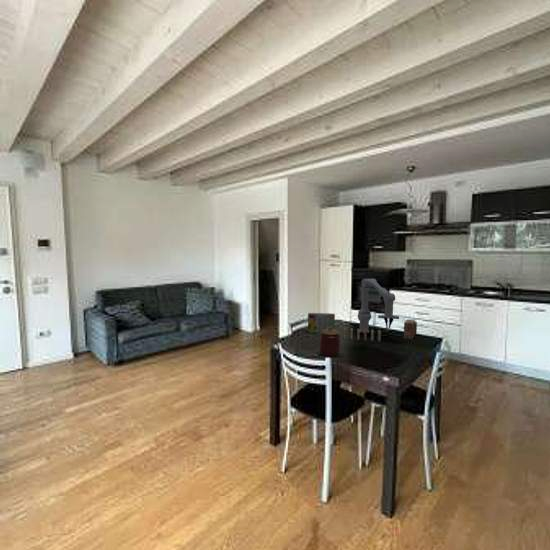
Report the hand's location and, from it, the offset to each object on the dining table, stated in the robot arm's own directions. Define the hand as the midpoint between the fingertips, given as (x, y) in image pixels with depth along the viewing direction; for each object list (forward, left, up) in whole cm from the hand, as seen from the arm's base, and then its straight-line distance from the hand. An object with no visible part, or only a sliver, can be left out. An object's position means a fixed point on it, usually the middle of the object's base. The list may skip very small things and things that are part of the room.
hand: (388, 328), depth 245 cm
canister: (+39, -40, -10) cm, 57 cm away
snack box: (-13, -50, -10) cm, 53 cm away
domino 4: (0, -11, -9) cm, 14 cm away
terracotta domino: (0, -16, -10) cm, 19 cm away
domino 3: (0, -21, -9) cm, 23 cm away
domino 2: (0, -26, -9) cm, 28 cm away
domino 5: (0, -6, -9) cm, 11 cm away
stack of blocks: (-20, +19, -10) cm, 29 cm away
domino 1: (0, -31, -9) cm, 32 cm away
